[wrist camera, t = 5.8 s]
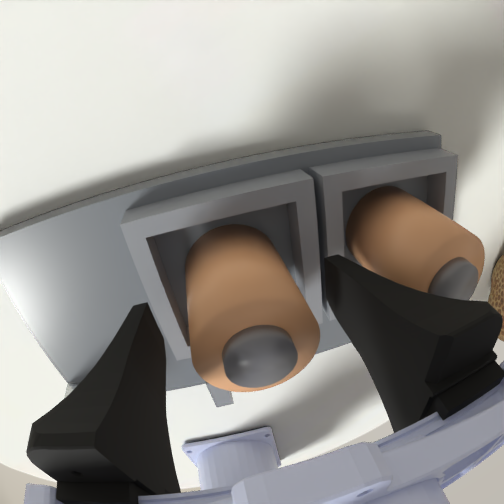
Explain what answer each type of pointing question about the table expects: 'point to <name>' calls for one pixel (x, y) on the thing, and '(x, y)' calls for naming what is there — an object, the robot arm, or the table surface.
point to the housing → (191, 229)
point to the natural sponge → (498, 291)
